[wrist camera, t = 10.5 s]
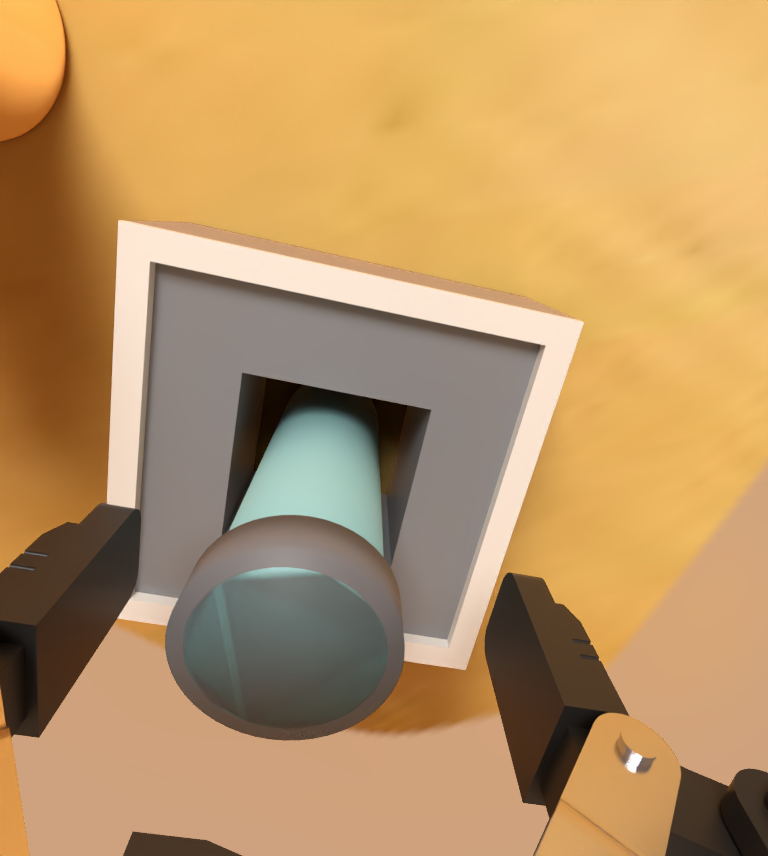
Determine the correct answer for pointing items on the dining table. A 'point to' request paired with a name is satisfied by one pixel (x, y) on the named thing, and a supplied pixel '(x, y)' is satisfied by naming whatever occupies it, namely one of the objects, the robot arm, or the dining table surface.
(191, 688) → the plug
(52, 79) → the tumbler
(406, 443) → the socket block
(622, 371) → the dining table surface
